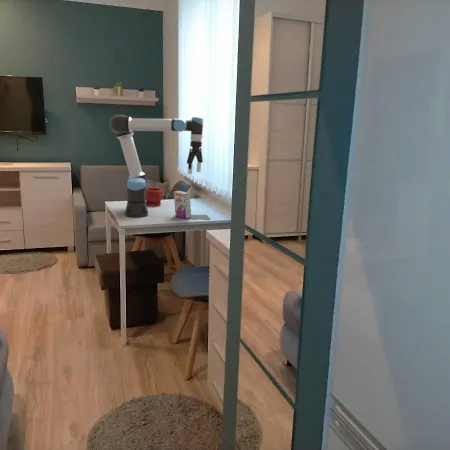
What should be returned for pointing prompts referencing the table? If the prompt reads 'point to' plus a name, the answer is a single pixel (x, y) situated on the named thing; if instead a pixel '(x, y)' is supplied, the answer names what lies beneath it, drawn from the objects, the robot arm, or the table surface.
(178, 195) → the candy bar box
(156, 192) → the plant pot
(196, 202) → the table surface
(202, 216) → the rubber mat
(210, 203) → the table surface
